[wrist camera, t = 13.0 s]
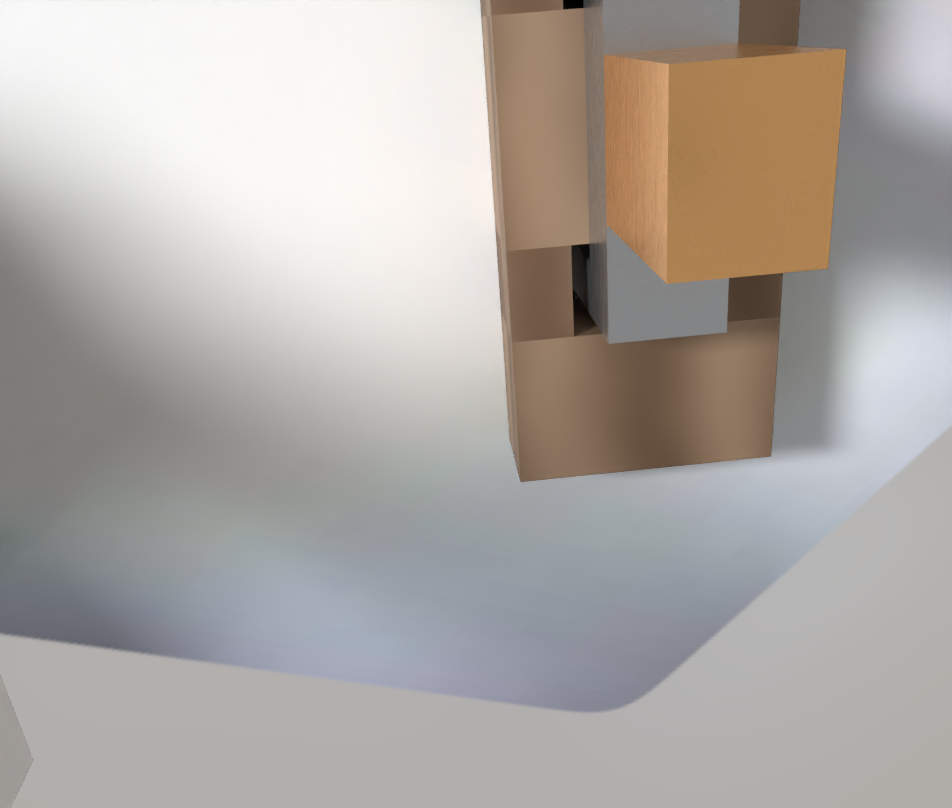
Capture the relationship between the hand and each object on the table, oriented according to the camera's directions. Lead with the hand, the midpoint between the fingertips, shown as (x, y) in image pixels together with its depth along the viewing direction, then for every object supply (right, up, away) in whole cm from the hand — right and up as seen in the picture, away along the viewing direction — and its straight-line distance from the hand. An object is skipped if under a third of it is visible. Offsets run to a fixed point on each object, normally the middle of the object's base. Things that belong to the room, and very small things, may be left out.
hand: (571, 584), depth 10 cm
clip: (+4, +13, +23) cm, 27 cm away
